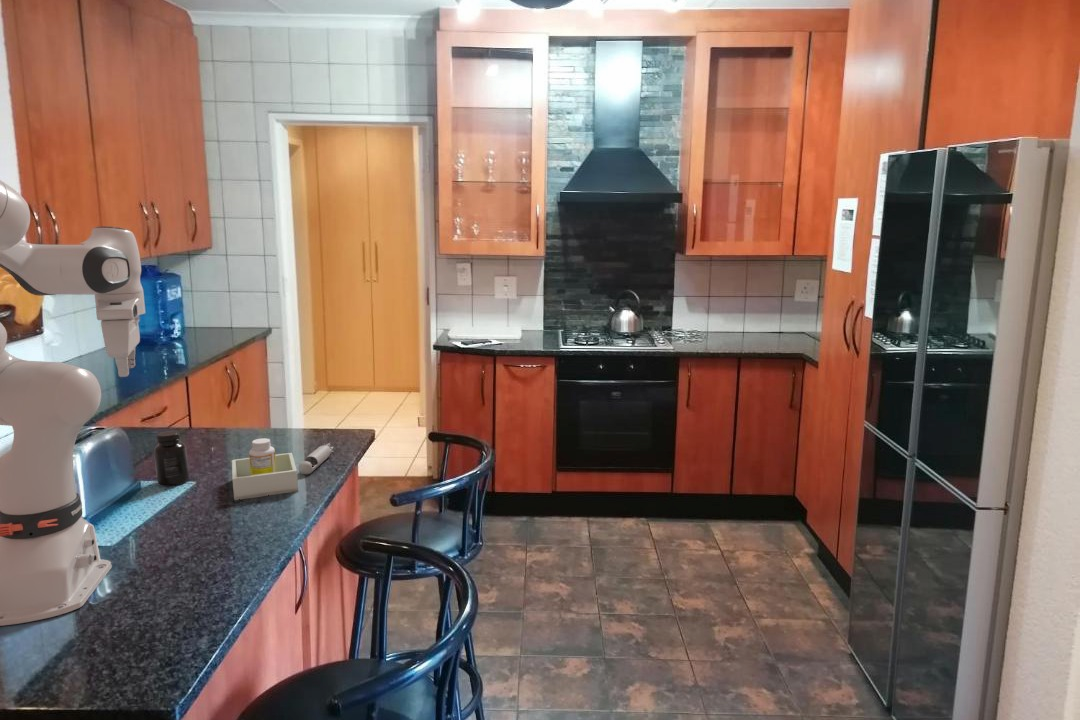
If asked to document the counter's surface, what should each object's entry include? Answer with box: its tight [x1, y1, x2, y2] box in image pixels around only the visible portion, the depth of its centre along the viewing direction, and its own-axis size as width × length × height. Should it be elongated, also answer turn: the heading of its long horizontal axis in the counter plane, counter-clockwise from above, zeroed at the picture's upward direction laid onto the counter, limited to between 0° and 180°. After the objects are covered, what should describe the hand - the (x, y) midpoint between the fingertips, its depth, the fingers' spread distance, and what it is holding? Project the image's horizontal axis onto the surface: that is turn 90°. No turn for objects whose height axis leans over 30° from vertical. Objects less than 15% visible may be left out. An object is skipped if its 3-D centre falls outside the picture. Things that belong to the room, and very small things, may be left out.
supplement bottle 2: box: [248, 438, 276, 475], centre depth 171 cm, size 6×6×10 cm
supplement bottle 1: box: [153, 430, 190, 487], centre depth 173 cm, size 7×7×12 cm
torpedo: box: [297, 433, 334, 476], centre depth 186 cm, size 18×5×7 cm, turn 175°
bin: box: [231, 452, 299, 501], centre depth 171 cm, size 14×14×5 cm
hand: (127, 371), depth 154 cm, fingers open, 8 cm apart
